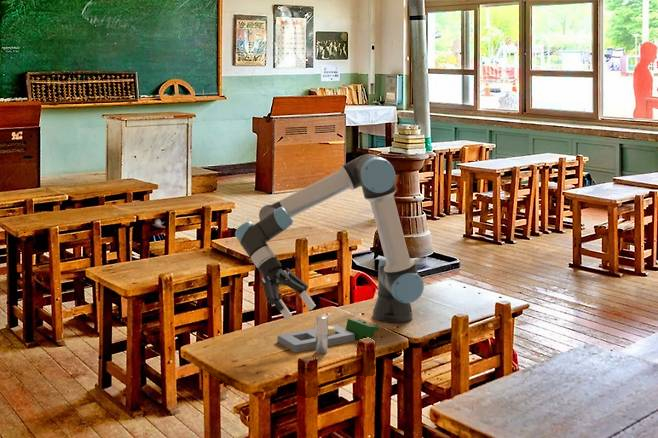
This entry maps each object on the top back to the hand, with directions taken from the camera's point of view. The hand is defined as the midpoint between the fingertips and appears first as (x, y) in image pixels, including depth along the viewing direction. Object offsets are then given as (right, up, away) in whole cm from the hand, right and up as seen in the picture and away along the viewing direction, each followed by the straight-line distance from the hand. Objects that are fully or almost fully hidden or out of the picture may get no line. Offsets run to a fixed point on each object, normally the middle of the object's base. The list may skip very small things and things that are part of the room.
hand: (301, 312), depth 275 cm
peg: (+7, -13, -2) cm, 15 cm away
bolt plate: (+5, -11, +9) cm, 15 cm away
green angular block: (+21, -11, +14) cm, 28 cm away
